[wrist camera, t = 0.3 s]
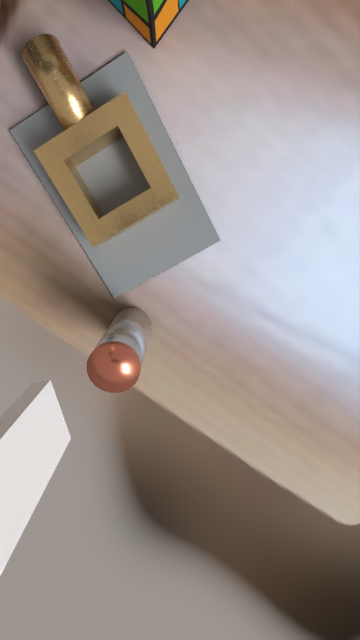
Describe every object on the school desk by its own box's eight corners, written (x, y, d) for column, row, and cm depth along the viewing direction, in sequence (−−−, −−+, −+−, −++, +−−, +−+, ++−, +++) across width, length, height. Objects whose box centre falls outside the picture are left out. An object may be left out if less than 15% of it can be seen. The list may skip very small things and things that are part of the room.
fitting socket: (6, 89, 31) (-15, 72, 28) (92, 29, 30) (80, 4, 26) (101, 244, 35) (92, 247, 32) (179, 199, 34) (179, 196, 31)
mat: (11, 131, 32) (9, 130, 32) (127, 53, 30) (127, 51, 30) (114, 297, 38) (114, 298, 37) (219, 240, 36) (220, 240, 35)
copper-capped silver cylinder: (106, 318, 38) (76, 359, 27) (138, 301, 38) (121, 335, 26) (126, 349, 40) (105, 400, 28) (158, 332, 39) (149, 378, 28)
